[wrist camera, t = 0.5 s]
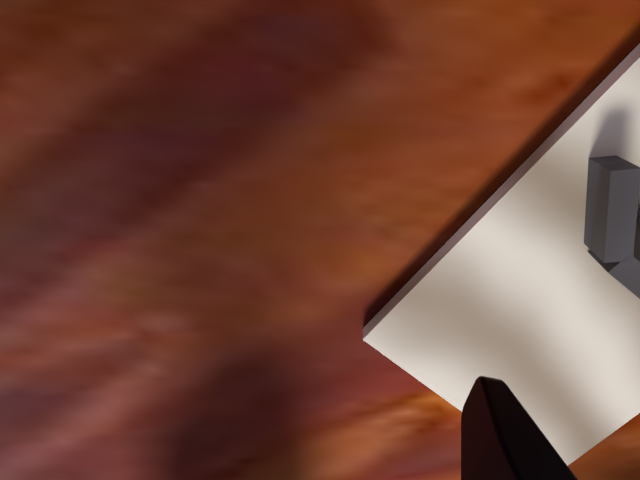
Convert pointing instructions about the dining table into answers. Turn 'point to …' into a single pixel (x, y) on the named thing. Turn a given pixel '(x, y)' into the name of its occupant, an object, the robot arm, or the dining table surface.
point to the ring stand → (541, 282)
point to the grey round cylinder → (639, 212)
